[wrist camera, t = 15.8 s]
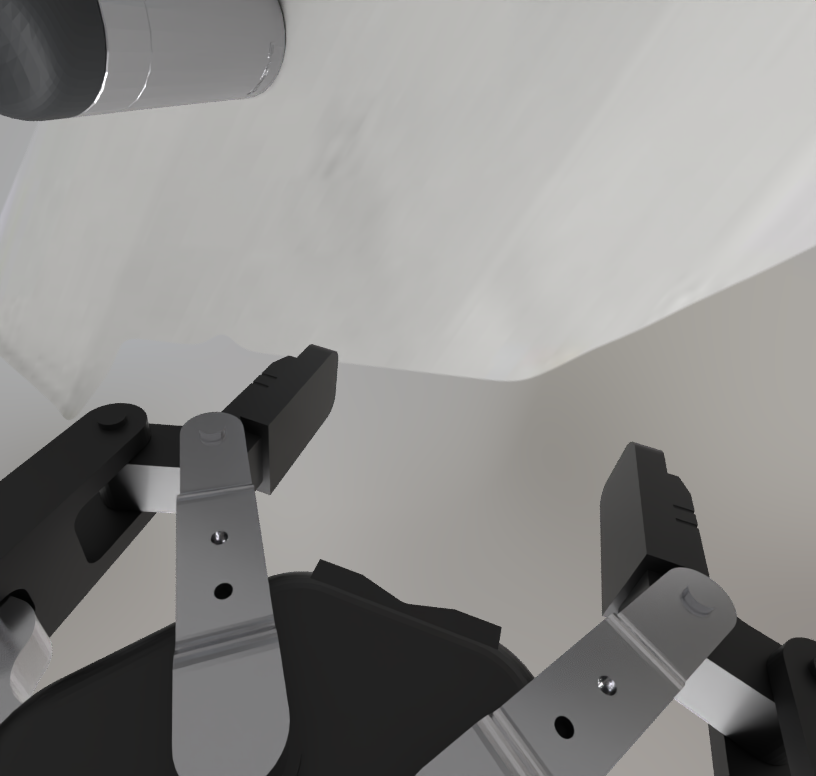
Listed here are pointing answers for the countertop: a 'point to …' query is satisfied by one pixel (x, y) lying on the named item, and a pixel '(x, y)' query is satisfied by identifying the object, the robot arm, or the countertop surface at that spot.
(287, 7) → the countertop surface
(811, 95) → the countertop surface
